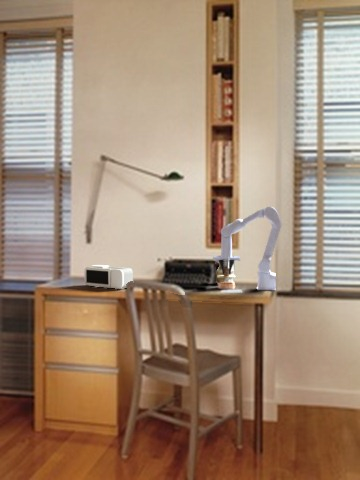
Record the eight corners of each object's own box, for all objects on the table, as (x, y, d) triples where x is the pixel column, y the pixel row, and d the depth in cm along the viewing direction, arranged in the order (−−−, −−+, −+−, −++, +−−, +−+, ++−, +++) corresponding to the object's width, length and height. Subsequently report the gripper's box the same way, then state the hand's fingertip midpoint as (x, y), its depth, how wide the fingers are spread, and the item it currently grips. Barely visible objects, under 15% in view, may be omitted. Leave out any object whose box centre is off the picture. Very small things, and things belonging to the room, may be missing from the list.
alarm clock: (84, 286, 298) (84, 265, 297) (95, 285, 305) (95, 264, 305) (122, 290, 283) (122, 268, 282) (133, 288, 290) (133, 266, 290)
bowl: (234, 287, 293) (234, 281, 293) (235, 289, 284) (235, 284, 284) (217, 287, 293) (217, 281, 293) (218, 289, 284) (218, 284, 284)
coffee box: (234, 284, 307) (234, 255, 306) (227, 285, 302) (227, 256, 301) (222, 282, 313) (222, 255, 312) (215, 283, 308) (215, 255, 307)
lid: (235, 276, 293) (235, 267, 293) (236, 277, 283) (236, 268, 283) (216, 276, 293) (216, 267, 293) (217, 277, 283) (217, 268, 283)
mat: (241, 290, 282) (241, 289, 282) (242, 293, 271) (242, 292, 271) (220, 290, 282) (220, 289, 282) (221, 293, 271) (221, 292, 271)
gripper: (239, 248, 291) (239, 273, 292) (212, 248, 292) (212, 273, 292) (240, 249, 284) (240, 274, 285) (213, 249, 285) (213, 274, 285)
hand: (226, 274), depth 288 cm, fingers closed on lid, 3 cm apart
